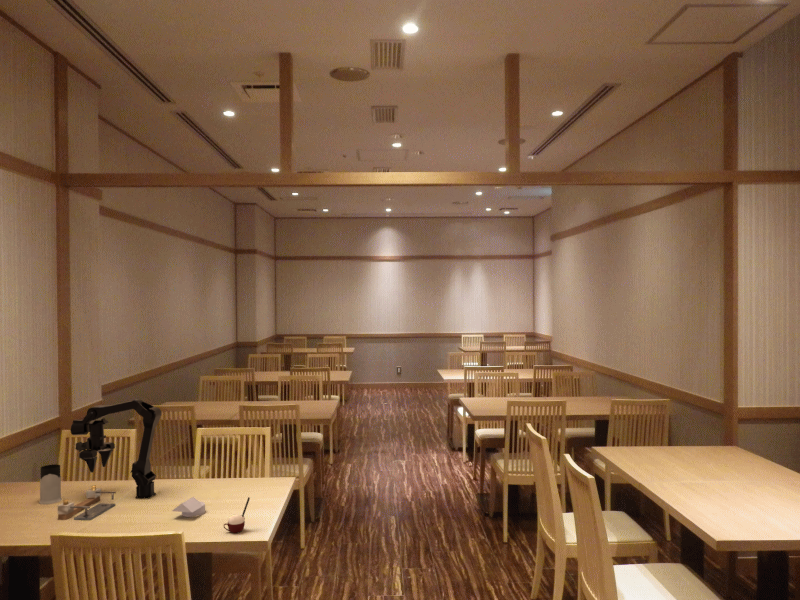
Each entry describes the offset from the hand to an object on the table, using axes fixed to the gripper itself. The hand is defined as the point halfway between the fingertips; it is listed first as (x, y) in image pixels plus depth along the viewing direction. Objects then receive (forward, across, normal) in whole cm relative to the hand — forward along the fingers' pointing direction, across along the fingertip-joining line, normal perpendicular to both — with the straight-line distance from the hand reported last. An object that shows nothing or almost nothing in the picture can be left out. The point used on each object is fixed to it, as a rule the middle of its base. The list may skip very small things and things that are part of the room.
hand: (98, 469), depth 272 cm
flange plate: (+12, +20, +10) cm, 26 cm away
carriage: (+11, +7, +6) cm, 14 cm away
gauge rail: (+12, +17, +6) cm, 22 cm away
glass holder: (+12, +5, -19) cm, 23 cm away
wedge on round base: (+14, +20, +51) cm, 57 cm away
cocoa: (+15, +37, +76) cm, 86 cm away
